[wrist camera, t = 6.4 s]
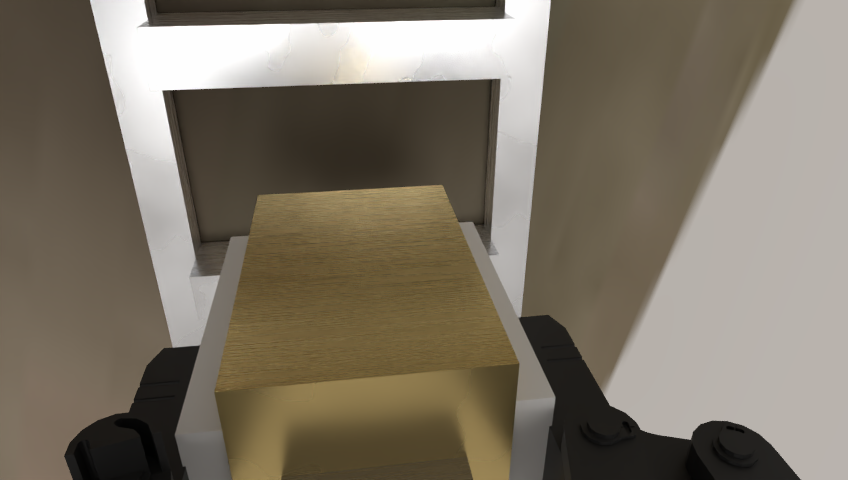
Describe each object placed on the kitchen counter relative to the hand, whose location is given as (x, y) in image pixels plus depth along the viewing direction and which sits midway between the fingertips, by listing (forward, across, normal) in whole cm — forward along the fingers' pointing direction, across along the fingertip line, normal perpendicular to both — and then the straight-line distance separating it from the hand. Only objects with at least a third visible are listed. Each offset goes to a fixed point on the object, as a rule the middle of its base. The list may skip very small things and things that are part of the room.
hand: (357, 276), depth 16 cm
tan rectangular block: (0, 0, 0) cm, 0 cm away
